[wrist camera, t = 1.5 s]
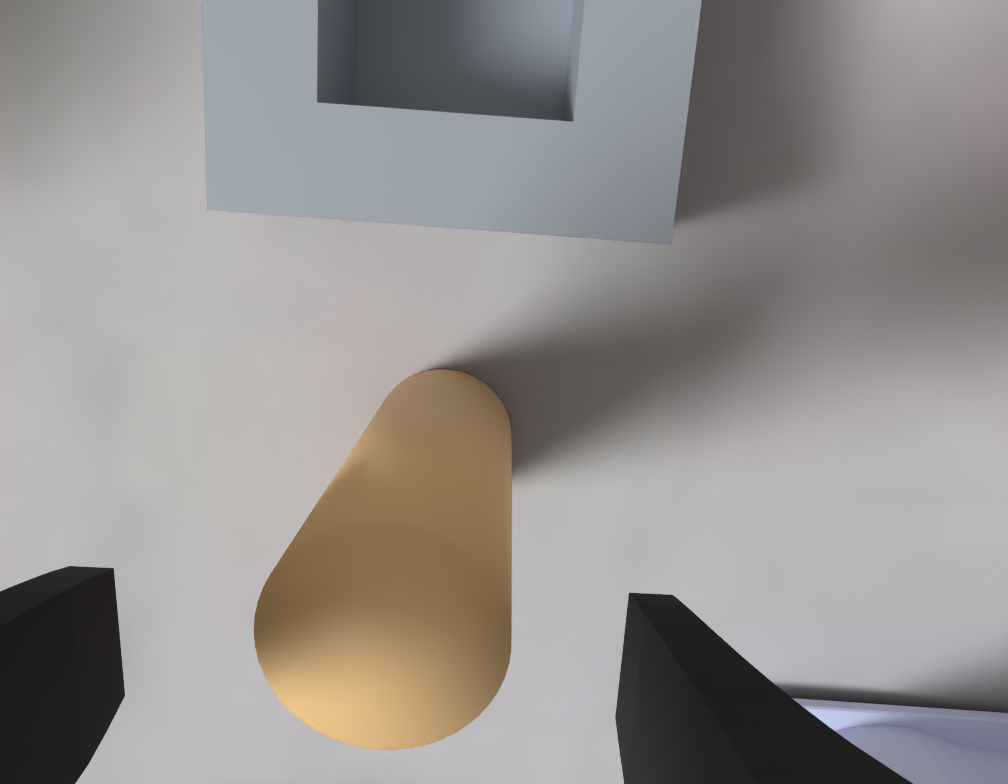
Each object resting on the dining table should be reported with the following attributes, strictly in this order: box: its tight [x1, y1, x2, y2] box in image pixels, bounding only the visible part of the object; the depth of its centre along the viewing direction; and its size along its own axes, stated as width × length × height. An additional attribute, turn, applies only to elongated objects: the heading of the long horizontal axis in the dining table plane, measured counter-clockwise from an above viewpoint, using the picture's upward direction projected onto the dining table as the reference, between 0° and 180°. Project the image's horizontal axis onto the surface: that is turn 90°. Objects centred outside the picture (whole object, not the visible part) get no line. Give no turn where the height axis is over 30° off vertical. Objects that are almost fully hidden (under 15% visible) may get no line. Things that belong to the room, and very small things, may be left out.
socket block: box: [202, 0, 702, 244], centre depth 15 cm, size 9×9×4 cm
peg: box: [254, 369, 512, 750], centre depth 15 cm, size 4×4×10 cm
